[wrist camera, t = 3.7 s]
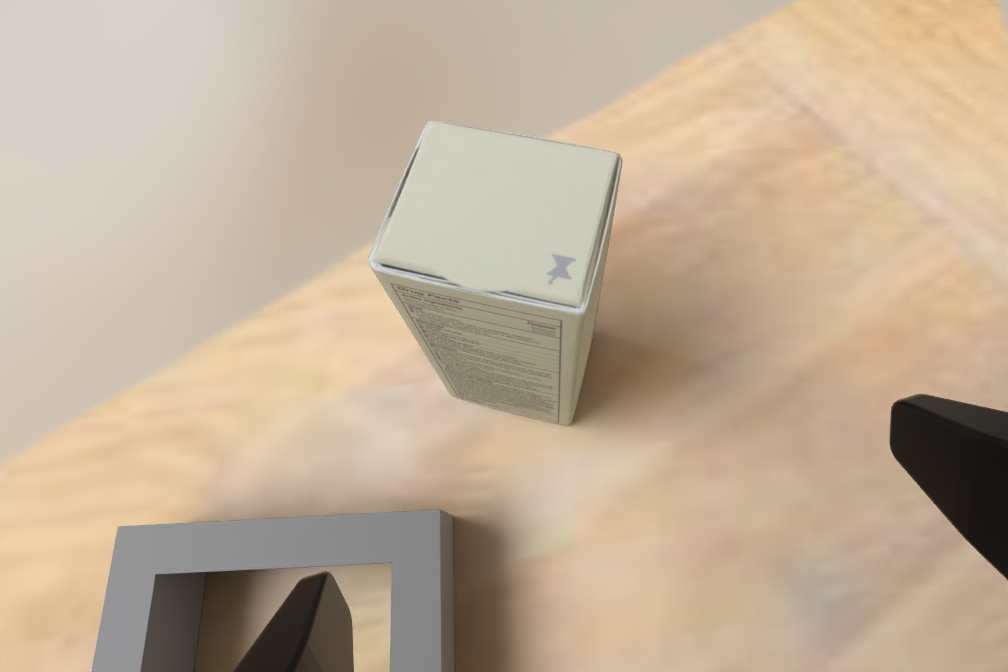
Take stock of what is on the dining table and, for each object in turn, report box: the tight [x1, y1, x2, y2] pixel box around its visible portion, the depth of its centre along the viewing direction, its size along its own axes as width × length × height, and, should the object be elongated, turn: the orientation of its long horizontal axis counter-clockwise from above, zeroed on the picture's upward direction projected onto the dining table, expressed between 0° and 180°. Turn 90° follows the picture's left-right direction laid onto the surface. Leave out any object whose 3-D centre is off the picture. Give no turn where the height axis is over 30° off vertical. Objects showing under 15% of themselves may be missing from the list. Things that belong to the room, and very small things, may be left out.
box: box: [368, 120, 622, 426], centre depth 18 cm, size 5×4×11 cm
